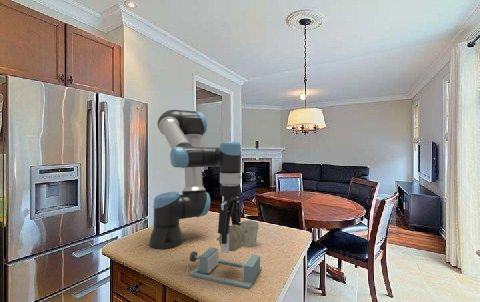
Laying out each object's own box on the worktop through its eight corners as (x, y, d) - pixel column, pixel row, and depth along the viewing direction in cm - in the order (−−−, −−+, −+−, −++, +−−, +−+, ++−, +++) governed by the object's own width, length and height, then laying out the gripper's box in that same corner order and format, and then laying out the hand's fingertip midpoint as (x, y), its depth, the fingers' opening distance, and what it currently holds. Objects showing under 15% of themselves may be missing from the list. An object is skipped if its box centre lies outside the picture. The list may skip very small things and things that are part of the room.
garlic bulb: (242, 254, 90) (251, 228, 90) (233, 259, 82) (243, 231, 82) (220, 242, 94) (230, 217, 94) (210, 246, 86) (220, 219, 86)
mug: (257, 248, 110) (257, 226, 110) (230, 245, 113) (230, 224, 113) (259, 241, 119) (259, 220, 119) (234, 239, 121) (234, 219, 121)
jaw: (185, 269, 90) (185, 253, 90) (198, 259, 98) (198, 245, 98) (208, 274, 86) (208, 258, 86) (218, 263, 95) (219, 248, 95)
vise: (189, 276, 86) (189, 259, 86) (208, 259, 99) (208, 244, 99) (249, 289, 78) (250, 270, 78) (261, 269, 91) (261, 253, 91)
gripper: (228, 189, 77) (228, 261, 77) (249, 181, 96) (249, 239, 96) (207, 188, 80) (206, 257, 80) (231, 180, 99) (231, 236, 99)
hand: (230, 247), depth 88 cm, fingers closed on garlic bulb, 8 cm apart
